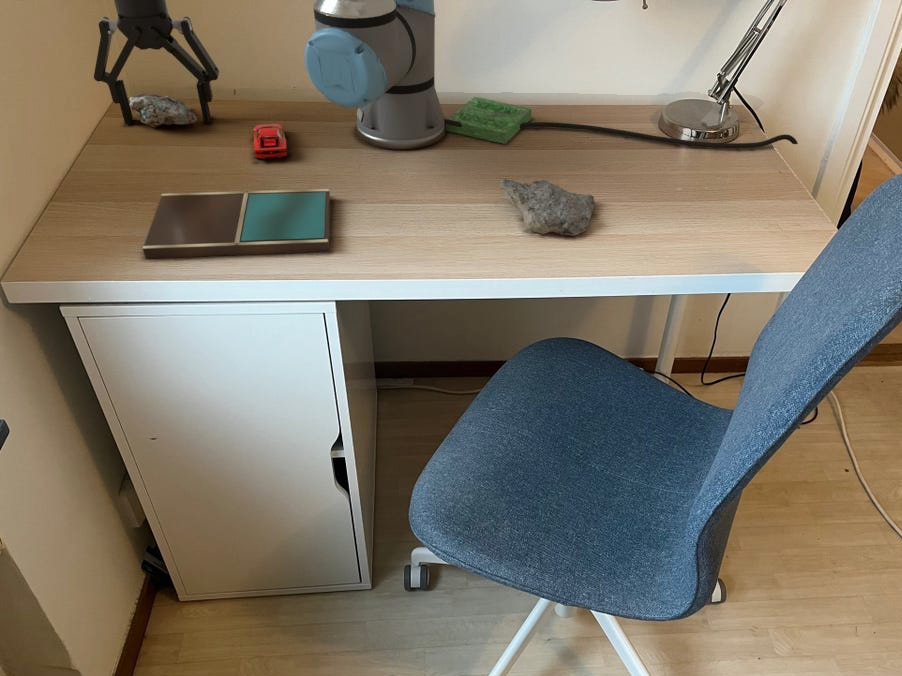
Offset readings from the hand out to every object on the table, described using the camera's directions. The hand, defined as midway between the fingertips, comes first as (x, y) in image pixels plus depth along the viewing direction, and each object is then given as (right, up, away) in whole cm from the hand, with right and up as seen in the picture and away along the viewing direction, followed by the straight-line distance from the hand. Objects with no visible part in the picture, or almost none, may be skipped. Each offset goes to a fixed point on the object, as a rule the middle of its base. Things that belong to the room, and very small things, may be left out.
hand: (168, 120), depth 135 cm
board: (+21, -24, -25) cm, 40 cm away
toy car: (+19, -7, -6) cm, 21 cm away
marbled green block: (+56, 0, +4) cm, 56 cm away
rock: (+64, -21, -19) cm, 70 cm away
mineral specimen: (0, 0, 0) cm, 0 cm away
